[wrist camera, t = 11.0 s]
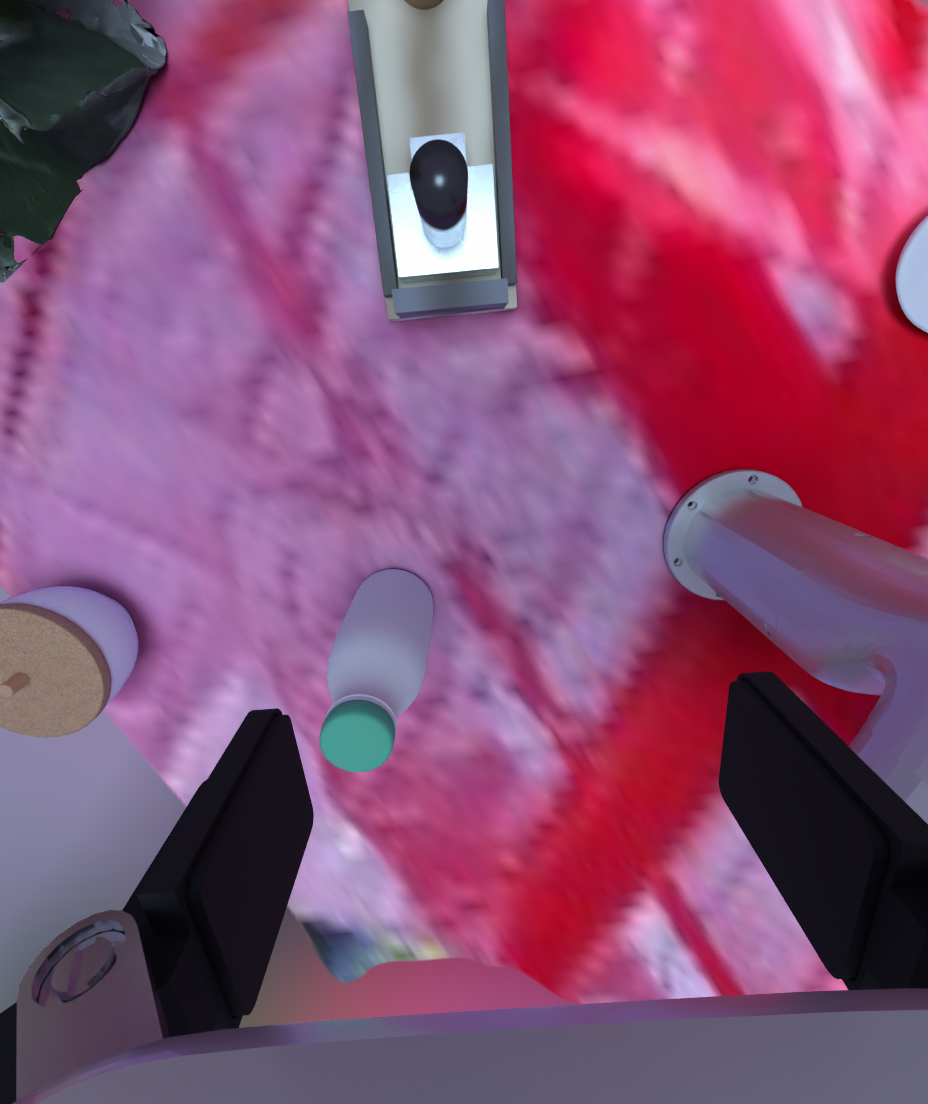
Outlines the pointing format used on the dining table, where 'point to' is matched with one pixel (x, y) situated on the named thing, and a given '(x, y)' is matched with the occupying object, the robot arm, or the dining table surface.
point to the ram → (443, 213)
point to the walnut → (423, 3)
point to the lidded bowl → (62, 658)
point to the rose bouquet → (63, 104)
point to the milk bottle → (376, 668)
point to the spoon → (914, 277)
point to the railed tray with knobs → (435, 129)
